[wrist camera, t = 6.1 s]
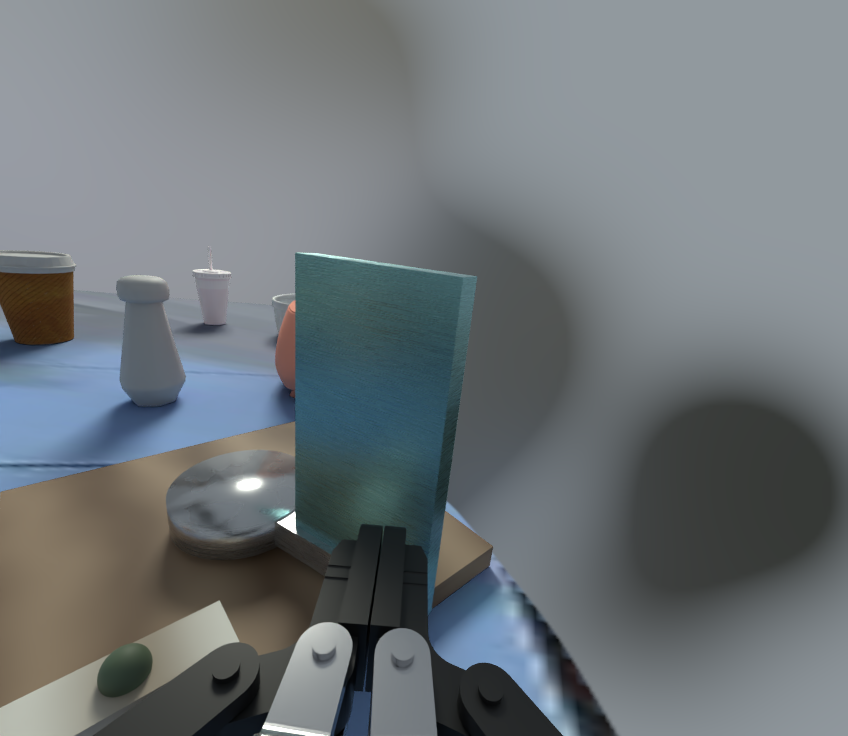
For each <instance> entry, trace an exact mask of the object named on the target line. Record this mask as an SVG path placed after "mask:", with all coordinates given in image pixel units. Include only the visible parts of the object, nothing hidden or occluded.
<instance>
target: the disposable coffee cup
mask: <svg viewBox="0 0 848 736" xmlns="http://www.w3.org/2000/svg"><path fill="white" fill-rule="evenodd" d="M75 267H76V264H74V263H73V260H72V258H71V256H70V255H68V254H62V253H52V252H39V251H3V250H2V251H0V304H1V307H2V309H3V312H4V315H5V317H6V319H7V322H8V324H9V327H10V329H11V332H12V334H13V337H14V340H15V342H17V343H21V344H29V345H42V344H54V343H60V342H65V341H68V340H71V339H73V338H74V302H73V271H75Z"/></svg>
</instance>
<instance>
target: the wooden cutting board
mask: <svg viewBox="0 0 848 736" xmlns="http://www.w3.org/2000/svg"><path fill="white" fill-rule="evenodd" d="M244 450H271V451H278V452H282V453H286V454H289V455H292V456H294V457H295V421H294V422H290V423H286V424H282V425H278V426H273V427H269V428H265V429H261V430H257V431H252V432H248V433H244V434H240V435H236V436H232V437H227V438H223V439H219V440H215V441H211V442H207V443H202V444H198V445H194V446H190V447H186V448H182V449H177V450H173V451H169V452H165V453H161V454H157V455H152V456H148V457H144V458H140V459H136V460H131V461H127V462H123V463H119V464H115V465H111V466H106V467H102V468H98V469H94V470H90V471H86V472H81V473H77V474H73V475H69V476H65V477H61V478H56V479H52V480H48V481H44V482H40V483H36V484H31V485H27V486H23V487H19V488H15V489H10V490H6V491H2V492H0V736H93V735H94V734H96V733H97V732H98V731H100V730H101V729H103V728H104V727H106V726H107V725H108V724H110V723H111V722H113V721H114V720H115V719H117V718H118V717H120V716H121V715H123V714H124V713H125V712H127V711H128V710H130V709H131V708H132V707H134V706H135V705H137V704H138V703H140V702H141V701H142V700H144V699H145V698H147V697H148V696H149V695H151V694H152V693H154V692H155V691H157V690H158V689H159V688H161V687H162V686H164V685H165V684H166V683H168V682H169V681H171V680H172V679H174V678H175V677H176V676H178V675H179V674H181V673H182V672H183V671H185V670H186V669H188V668H189V667H191V666H192V665H193V664H195V663H196V662H198V661H199V660H200V659H202V658H203V657H205V656H206V655H208V654H209V653H210V652H212V651H213V650H215V649H217V648H218V647H221V646H223V645H226V644H229V643H234V642H241V643H246V644H249V645H250V646H252V647H253V648H254V649H255V650H256V652H257V653H258V656H259V655H263V654H267V653H271V652H275V651H279V650H282V649H285V648H287V647H289V646H291V645H293V644H294V643H295V642H297V641H298V640H299V638H300V637H301V635H302V634H303V633H304V632H305V631H306V630H307V629H308V628H309V626H310V623H311V620H312V617H313V614H314V610H315V607H316V604H317V600H318V597H319V594H320V590H321V587H322V584H323V580H324V578H325V576H323V575H322V574H320V573H319V572H317V571H315V570H314V569H312V568H311V567H309V566H307V565H306V564H304V563H303V562H301V561H300V560H298V559H296V558H295V557H293V556H292V555H290V554H288V553H287V552H285V551H284V550H282V549H281V548H279V547H276V548H274V549H271V550H269V551H267V552H264V553H261V554H258V555H255V556H251V557H247V558H241V559H235V560H209V559H202V558H198V557H194V556H192V555H189V554H187V553H185V552H184V551H182V550H180V549H179V548H178V547H177V546H176V545H175V544H174V542H173V541H172V539H171V537H170V533H169V524H168V516H167V507H166V494H167V491H168V489H169V487H170V486H171V484H172V483H173V481H174V480H175V479H176V478H177V477H178V476H179V475H181V474H182V473H183V472H184V471H186V470H187V469H189V468H191V467H192V466H194V465H196V464H198V463H200V462H202V461H204V460H207V459H210V458H212V457H216V456H219V455H222V454H226V453H231V452H237V451H244ZM492 550H493V546H492V545H490V544H489V543H488V542H486V541H485V540H484V539H482V538H481V537H480V536H478V535H477V534H476V533H474V532H473V531H472V530H470V529H469V528H468V527H466V526H465V525H464V524H462V523H461V522H460V521H458V520H457V519H456V518H454V517H453V516H452V515H450V514H449V513H448V512H446V511H445V515H444V522H443V530H442V537H441V544H440V551H439V559H438V566H437V573H436V581H435V588H434V595H433V603H432V608H434V607H435V606H436V605H438V604H439V603H440V602H442V601H443V600H444V599H446V598H447V597H448V596H450V595H451V594H452V593H454V592H455V591H456V590H458V589H459V588H460V587H462V586H463V585H464V584H466V583H467V582H468V581H470V580H471V579H472V578H474V577H475V576H476V575H478V574H479V573H480V572H482V571H483V570H484V569H486V568H487V567H488V566H490V560H491V555H492Z"/></svg>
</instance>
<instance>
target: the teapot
mask: <svg viewBox="0 0 848 736" xmlns="http://www.w3.org/2000/svg"><path fill="white" fill-rule="evenodd" d="M275 364H276V369H277V372H278V374H279V376H280V379H281V381H282V382H283V384H284V385H285V387H287V388H288V389H291V390H292V391H291V393H290V396H291V397H293V398H295V301H293V302H292V303H291V304H290V305H289V306H288V308H287V311H286V313H285V316H284V319H283V322H282V325H281V328H280V331H279V335H278V340H277V346H276V355H275Z"/></svg>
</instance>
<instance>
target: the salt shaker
mask: <svg viewBox="0 0 848 736" xmlns="http://www.w3.org/2000/svg"><path fill="white" fill-rule="evenodd" d="M116 290H117V295H118V297H119V299H120V300H122V301H125V302H126V306H125V318H124V331H123V344H122V356H121V369H120V383H121V386H122V389H123V390H124V391H125V392H126V393H127V394H128V396H129V397H130V398H131V400H132V401H133V402H134V403H135V404H137V405H138V406H162V405H165V404H168V403H171V402H174V401H176V399H177V396H178V394H179V392H180V390H181V388H182V386H183V384H184V382H185V378H186V376H185V373H184V370H183V366H182V363H181V360H180V357H179V354H178V351H177V348H176V345H175V342H174V339H173V335H172V332H171V329H170V325H169V322H168V319H167V315H166V312H165V309H164V306H163V302H164V301H166V300H168V299H169V287H168V284H167V282H165V281H164V280H163V279H162V278H158V277H154V276H144V275H135V276H134V275H133V276H126V277H122V278H120V279H119V280H118V281H117V285H116Z"/></svg>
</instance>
